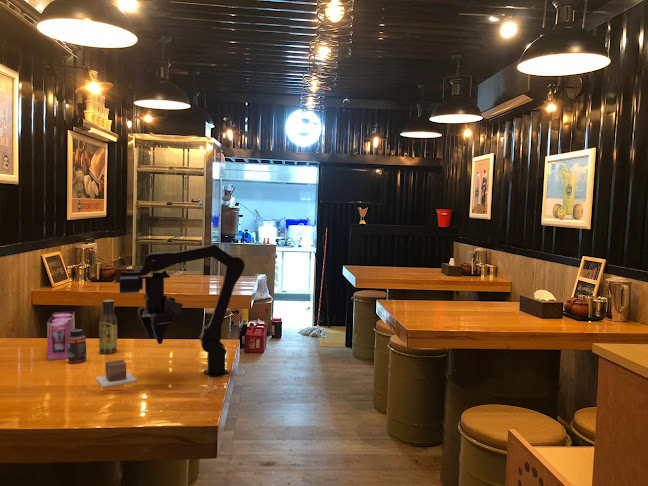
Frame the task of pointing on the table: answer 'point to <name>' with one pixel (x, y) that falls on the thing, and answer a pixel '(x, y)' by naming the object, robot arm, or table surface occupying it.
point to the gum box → (59, 334)
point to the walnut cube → (115, 370)
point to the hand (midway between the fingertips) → (155, 340)
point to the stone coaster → (106, 383)
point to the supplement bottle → (76, 346)
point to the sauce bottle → (108, 329)
